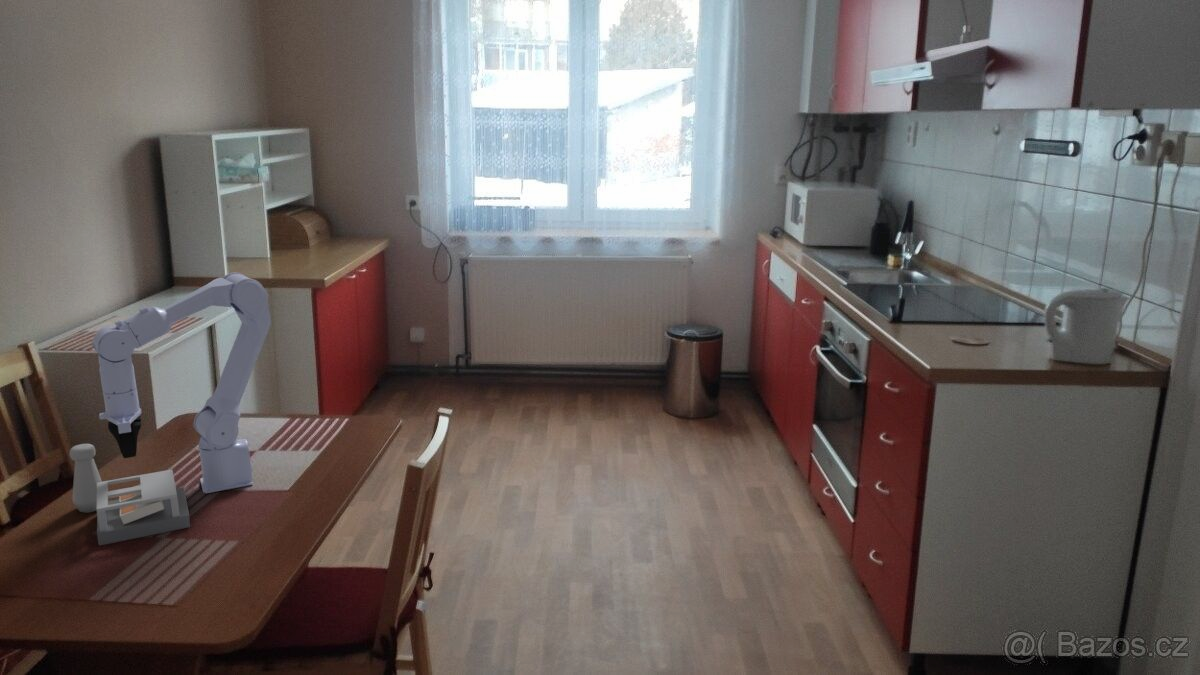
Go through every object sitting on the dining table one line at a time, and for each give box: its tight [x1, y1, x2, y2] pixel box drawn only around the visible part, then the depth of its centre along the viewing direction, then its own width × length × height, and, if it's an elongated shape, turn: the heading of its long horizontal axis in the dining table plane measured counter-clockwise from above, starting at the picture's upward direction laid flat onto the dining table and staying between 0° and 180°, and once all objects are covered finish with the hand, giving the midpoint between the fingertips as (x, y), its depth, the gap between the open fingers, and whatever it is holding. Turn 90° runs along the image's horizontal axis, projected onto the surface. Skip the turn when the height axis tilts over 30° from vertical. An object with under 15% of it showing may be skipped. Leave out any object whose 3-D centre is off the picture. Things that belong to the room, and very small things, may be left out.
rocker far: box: [118, 483, 142, 503], centre depth 169 cm, size 7×5×2 cm
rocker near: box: [120, 497, 164, 524], centre depth 163 cm, size 7×5×2 cm
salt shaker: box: [69, 443, 103, 514], centre depth 171 cm, size 6×6×13 cm
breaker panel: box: [96, 469, 191, 546], centre depth 166 cm, size 15×14×7 cm
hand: (129, 456), depth 171 cm, fingers closed
